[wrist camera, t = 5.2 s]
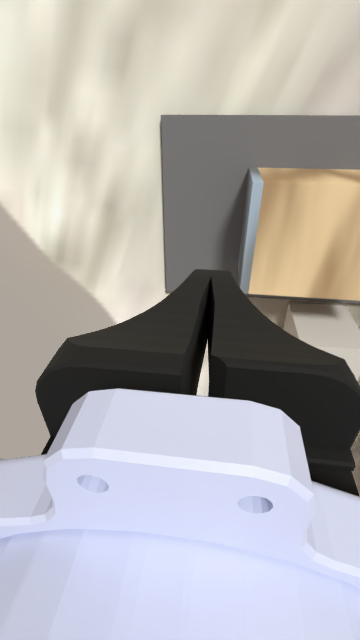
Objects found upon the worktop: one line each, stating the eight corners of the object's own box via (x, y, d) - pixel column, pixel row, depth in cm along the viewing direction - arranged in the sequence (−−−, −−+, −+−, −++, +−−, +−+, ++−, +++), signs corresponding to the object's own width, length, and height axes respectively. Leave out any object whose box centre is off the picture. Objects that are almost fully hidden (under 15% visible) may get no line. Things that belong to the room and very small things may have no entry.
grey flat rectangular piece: (455, 116, 16) (459, 116, 16) (378, 302, 22) (380, 305, 22) (162, 114, 18) (160, 115, 17) (167, 288, 24) (166, 291, 24)
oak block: (248, 167, 18) (397, 170, 17) (238, 264, 22) (362, 270, 21) (252, 182, 15) (435, 187, 14) (239, 293, 18) (386, 302, 18)
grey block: (346, 305, 23) (370, 350, 19) (331, 348, 25) (350, 396, 21) (288, 302, 23) (300, 344, 19) (279, 344, 26) (288, 390, 22)
